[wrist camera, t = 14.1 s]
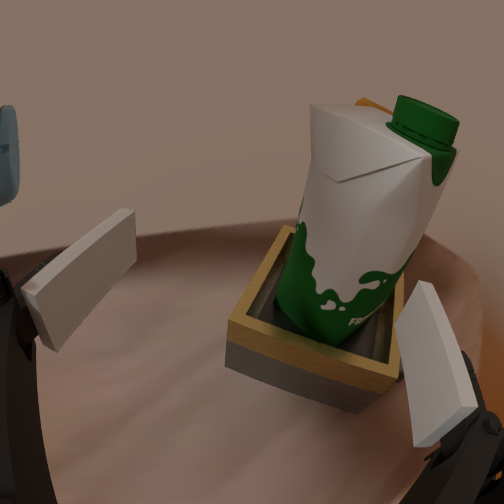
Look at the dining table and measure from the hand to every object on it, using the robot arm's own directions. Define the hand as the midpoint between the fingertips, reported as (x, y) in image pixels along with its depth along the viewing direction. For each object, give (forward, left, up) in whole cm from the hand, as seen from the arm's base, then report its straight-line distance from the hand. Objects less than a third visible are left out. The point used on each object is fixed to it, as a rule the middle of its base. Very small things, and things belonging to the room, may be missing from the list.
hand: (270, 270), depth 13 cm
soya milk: (+4, +10, -13) cm, 17 cm away
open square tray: (+5, +10, -18) cm, 21 cm away
